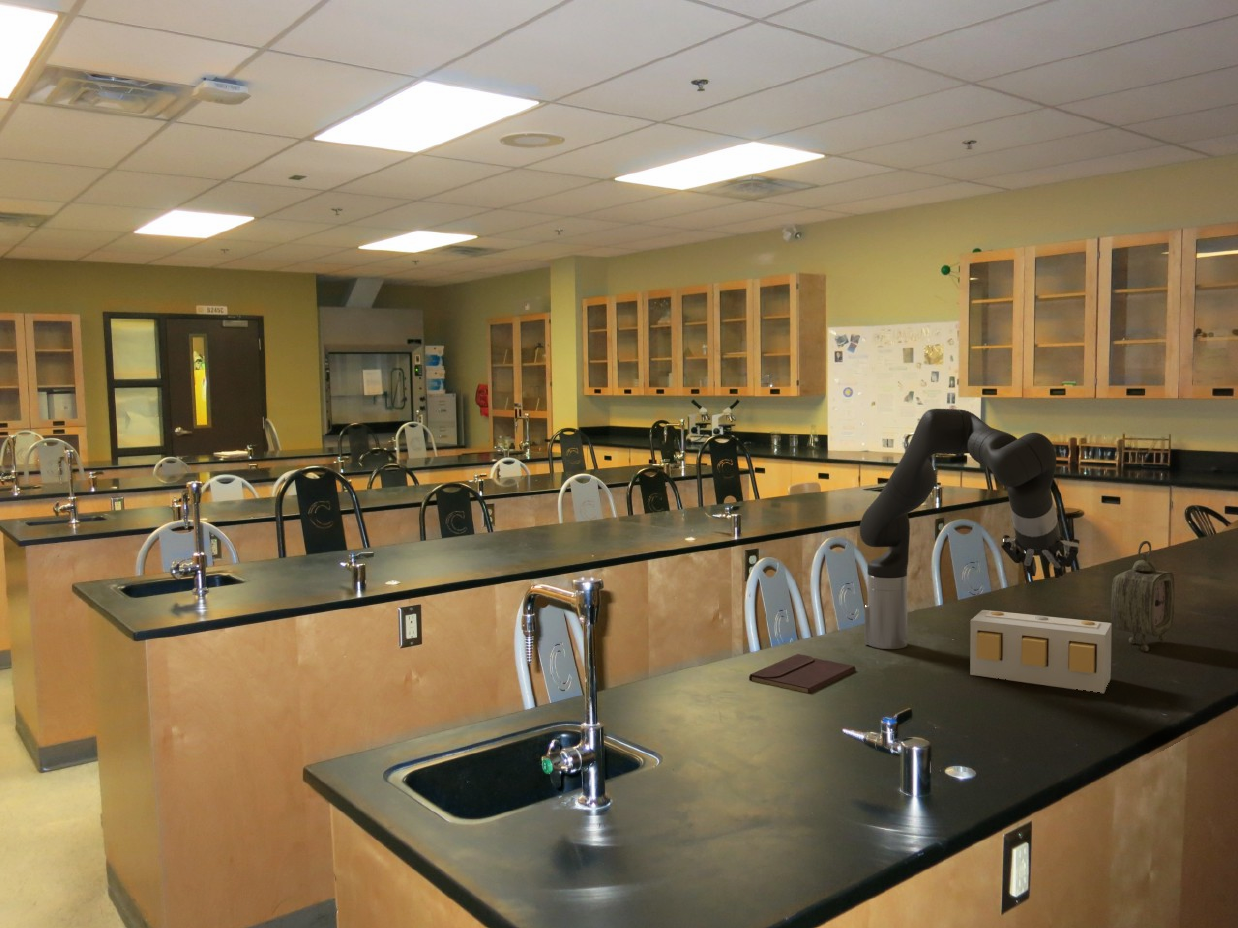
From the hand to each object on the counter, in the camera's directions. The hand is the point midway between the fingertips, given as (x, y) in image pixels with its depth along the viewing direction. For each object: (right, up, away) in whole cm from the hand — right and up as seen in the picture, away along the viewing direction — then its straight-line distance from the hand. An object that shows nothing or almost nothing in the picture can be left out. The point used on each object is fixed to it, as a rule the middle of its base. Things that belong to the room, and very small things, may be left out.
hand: (1045, 573), depth 185 cm
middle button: (+4, -20, +14) cm, 25 cm away
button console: (+7, -24, +20) cm, 32 cm away
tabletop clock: (+41, -22, +42) cm, 63 cm away
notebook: (-42, -26, +24) cm, 55 cm away
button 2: (+12, -21, +9) cm, 26 cm away
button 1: (-3, -20, +19) cm, 28 cm away
